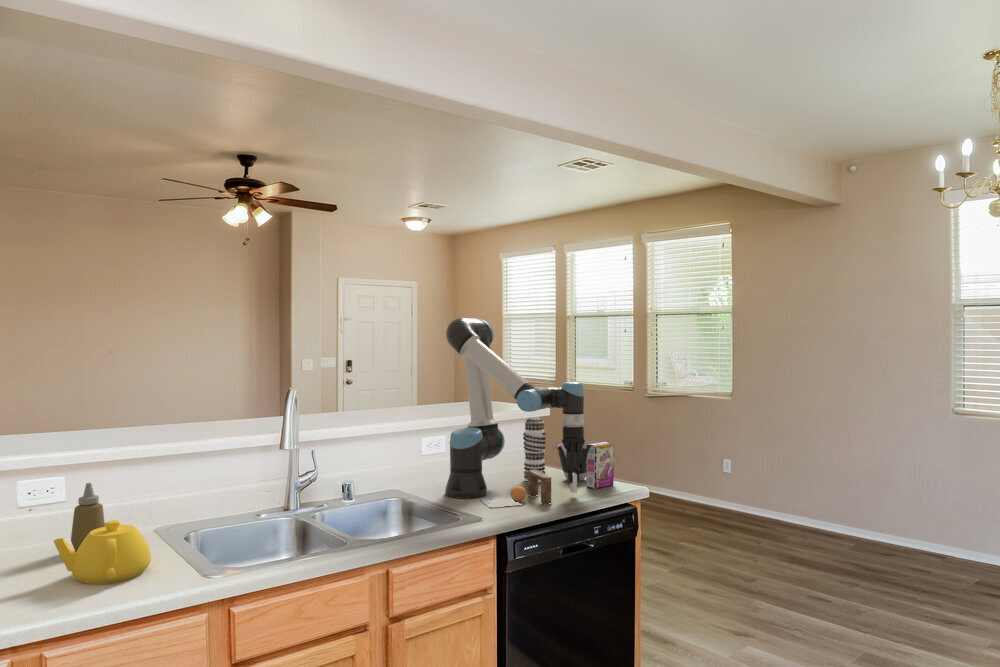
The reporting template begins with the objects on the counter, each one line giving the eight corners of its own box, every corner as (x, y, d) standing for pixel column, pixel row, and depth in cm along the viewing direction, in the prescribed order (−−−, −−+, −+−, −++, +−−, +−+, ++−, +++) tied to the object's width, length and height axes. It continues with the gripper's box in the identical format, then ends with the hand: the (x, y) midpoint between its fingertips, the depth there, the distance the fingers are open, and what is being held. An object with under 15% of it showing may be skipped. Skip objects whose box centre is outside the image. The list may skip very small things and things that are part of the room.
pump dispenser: (588, 477, 273) (587, 440, 274) (588, 482, 263) (588, 444, 263) (562, 477, 274) (562, 439, 275) (562, 482, 264) (562, 443, 264)
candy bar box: (596, 489, 251) (595, 445, 251) (585, 487, 255) (585, 444, 255) (614, 485, 259) (614, 442, 259) (604, 483, 262) (604, 441, 262)
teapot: (150, 559, 172) (150, 509, 173) (151, 582, 156) (151, 527, 156) (58, 572, 163) (58, 519, 163) (47, 598, 146) (48, 539, 147)
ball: (524, 496, 236) (511, 502, 234) (520, 481, 235) (506, 488, 234) (530, 499, 231) (516, 506, 229) (525, 485, 230) (511, 491, 229)
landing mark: (479, 500, 235) (479, 499, 235) (512, 497, 238) (512, 497, 238) (490, 508, 223) (490, 507, 223) (523, 505, 227) (523, 505, 227)
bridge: (543, 505, 228) (543, 477, 228) (528, 495, 241) (528, 470, 242) (551, 504, 229) (551, 477, 229) (536, 495, 242) (536, 469, 243)
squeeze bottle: (66, 557, 174) (66, 487, 174) (76, 547, 182) (76, 481, 182) (101, 554, 177) (101, 485, 177) (109, 545, 184) (109, 479, 185)
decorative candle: (535, 477, 274) (535, 416, 274) (551, 481, 267) (550, 418, 267) (518, 480, 268) (518, 417, 269) (533, 484, 261) (533, 419, 261)
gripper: (560, 427, 234) (560, 495, 234) (594, 426, 238) (594, 492, 238) (552, 425, 241) (552, 490, 241) (585, 423, 245) (585, 488, 245)
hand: (573, 491), depth 239 cm, fingers closed
